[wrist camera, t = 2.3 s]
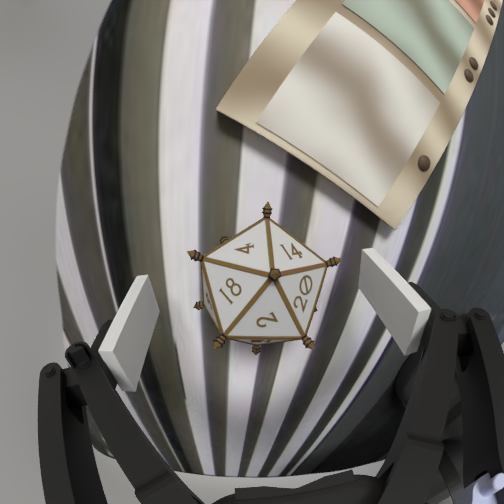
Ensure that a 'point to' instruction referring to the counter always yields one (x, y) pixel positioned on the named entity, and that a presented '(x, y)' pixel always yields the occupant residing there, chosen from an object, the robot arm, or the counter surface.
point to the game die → (261, 285)
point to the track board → (366, 90)
